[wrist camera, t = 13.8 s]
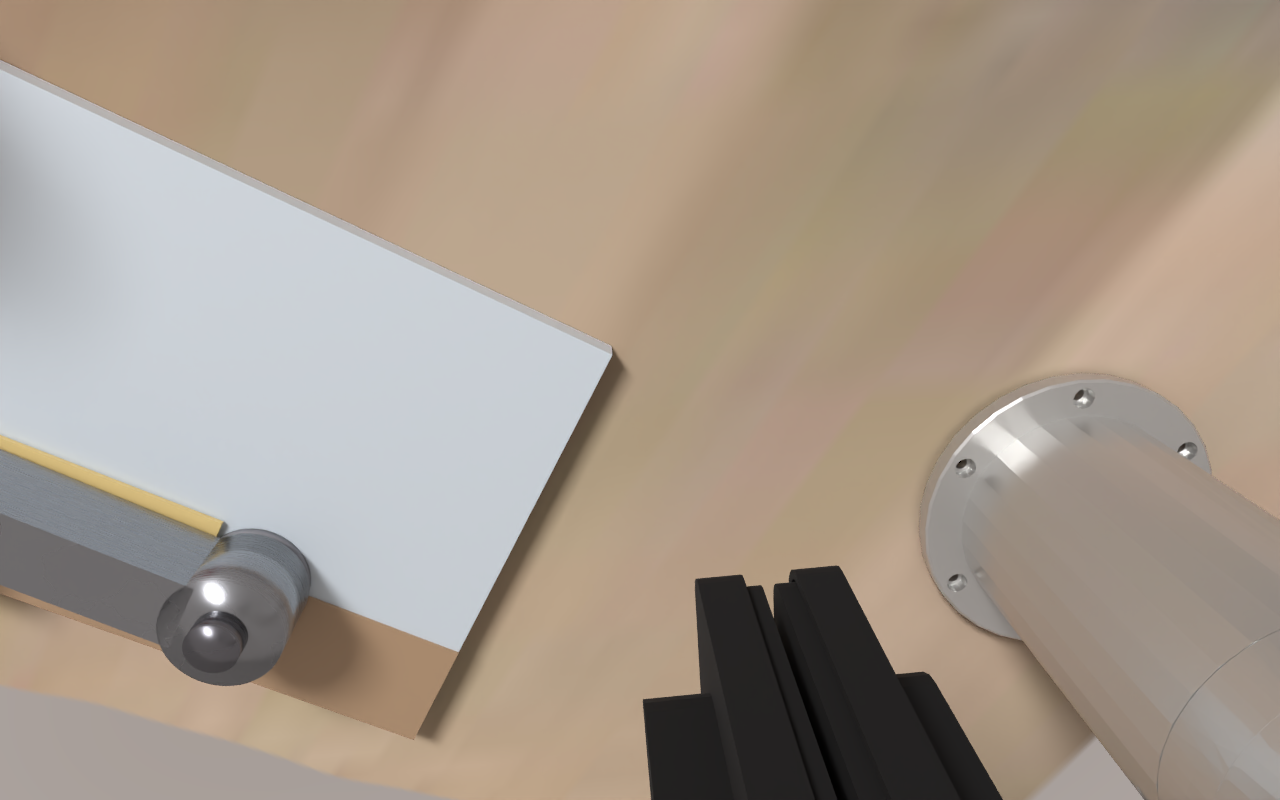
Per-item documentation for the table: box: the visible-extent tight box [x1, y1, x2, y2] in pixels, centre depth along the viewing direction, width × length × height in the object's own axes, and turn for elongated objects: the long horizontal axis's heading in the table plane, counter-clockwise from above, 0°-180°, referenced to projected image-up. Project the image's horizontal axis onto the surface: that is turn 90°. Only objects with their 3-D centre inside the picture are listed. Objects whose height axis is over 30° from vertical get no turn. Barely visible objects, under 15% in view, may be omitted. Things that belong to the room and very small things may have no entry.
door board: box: [0, 60, 612, 740], centre depth 36 cm, size 26×20×4 cm
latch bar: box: [0, 449, 310, 686], centre depth 35 cm, size 18×5×5 cm, turn 62°
